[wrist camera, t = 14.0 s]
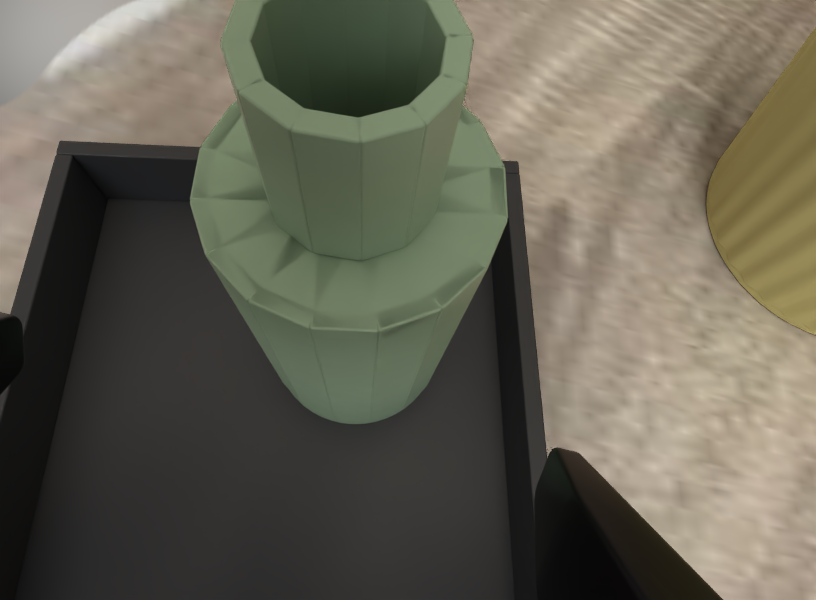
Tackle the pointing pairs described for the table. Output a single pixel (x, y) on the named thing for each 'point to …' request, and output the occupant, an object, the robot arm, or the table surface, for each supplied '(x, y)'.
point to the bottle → (350, 194)
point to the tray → (244, 424)
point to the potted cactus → (773, 197)
